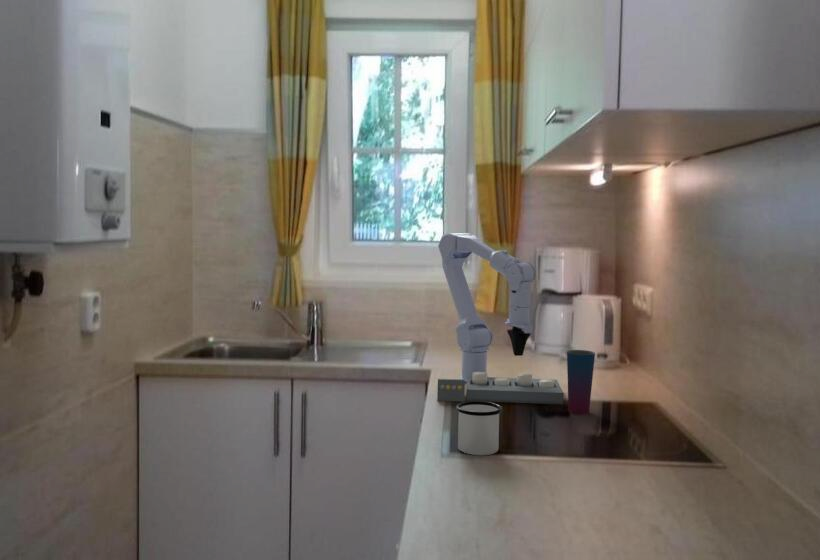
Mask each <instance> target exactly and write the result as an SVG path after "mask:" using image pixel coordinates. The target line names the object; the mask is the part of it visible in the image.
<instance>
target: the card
mask: <svg viewBox="0 0 820 560" xmlns="http://www.w3.org/2000/svg"><path fill="white" fill-rule="evenodd" d="M465 384H466V382H465V379H459V378H437V394H436V395H437V398H436V399H437V400H436V401H438V400H443V401H444V402H445V401H446V402H465V393H466V390H465V388H466V387H465V386H466V385H465ZM443 401H442V402H443Z"/></svg>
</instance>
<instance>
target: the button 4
mask: <svg viewBox="0 0 820 560" xmlns="http://www.w3.org/2000/svg"><path fill="white" fill-rule="evenodd" d="M546 379H547V378H544V380H539V387H554V381H553V380H554V379H553V380H546Z"/></svg>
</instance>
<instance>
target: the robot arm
mask: <svg viewBox="0 0 820 560" xmlns="http://www.w3.org/2000/svg"><path fill="white" fill-rule="evenodd" d="M438 249H439V252H440V256H441V261H442V262H441V264H442V269H443V271H444V272H443V273H444V275H445V278H446V283H447V284H448V288H449V291H450V293H451V297H452V299H453V300H452V301H453V303H454V306H455V310H456V312H457V315H458V319H459V323H458V324H457V325H456V326H455V332H456V341H457V345H458V347H459V348H460V351H462V353H461V354H462V355H461V356H462V357H461V374H460V375H459V377H460V379H465V383H467V376H468V377H472V376H473V372H485V373H487V368H488V367H487V365H488V364H487V362H488V351H489V348H490V346H491V345H492V343H493V340H494V335H493V332H492V330H491V328H489V326H488V324H487V321H486V320H485V319H483V318H482V317H481V316H480V315H479V314H478V311H477V308H476V305H475V303H474V300H473V296H472V294H471V290H470V288H469V285H468V282H467V277H466V276H465V273H464V269H463V265H464V263H466V261H467V260H468V259H469V258H470V256H471V254H475V255H476V256H478V257H480V258H482V259H485V260H486V261H487V262H489V267H490V268H491V269H493V270H494V271H496V272H498V273H500V275H503V276H504V277H505V279H506V281H507V283H508V289H509V302H508V303H509V304H508V307H509V308H508V318H506V321H505V322H504V326H507V327H512V328H510V329H507V331H506V332H507V334H508V337H509V340H510V342H511V347H512V353H513V355H514V356H516V357H517V356H520V357H521V356H524V351H525V348H526V344H527V341H528V339H529V337H530V336H531V334H532V333H533V325H532V324H531V322H530V321H531V318H530V317H531V295H532V294H531V291H532V290H531V288H532V283H533V281H534V280H535V278H536V275H537V274H536V272H537V271H536V268H535V267H534V265H533V264H532V263H531V262H529V261H526V262H522V261H521V259H520V258H519V257H514V256H512V255H511V254H509V251H508V250H505V249H499V250H495V249H493V248H492V247H490V246H489V245H487V244H486V243H485V242H483V241H481V240H480V239H478V237H477V236H476V235H473V234H472V233H470V232H464V233H463V232H462V233H460V232H459V233H457V232H456V233H453V232H452V233H450V232H446V233H444V234H442V236H441V238H440V240H439V242H438Z"/></svg>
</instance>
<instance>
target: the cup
mask: <svg viewBox="0 0 820 560" xmlns="http://www.w3.org/2000/svg"><path fill="white" fill-rule="evenodd" d="M595 355H596V352H594V351H591V350H585V349H570V350H567V351H566V363H567V364H566V365H567V368H566V369H567V373H566V374H567V400H568V401H567V407H568V409H567V411H568V413H570V414H575V415H588V414H589V413H590V407H591V406H590V405H591V398H592V387H593V376H594V367H595V366H594V365H595V358H596V357H595Z"/></svg>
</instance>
